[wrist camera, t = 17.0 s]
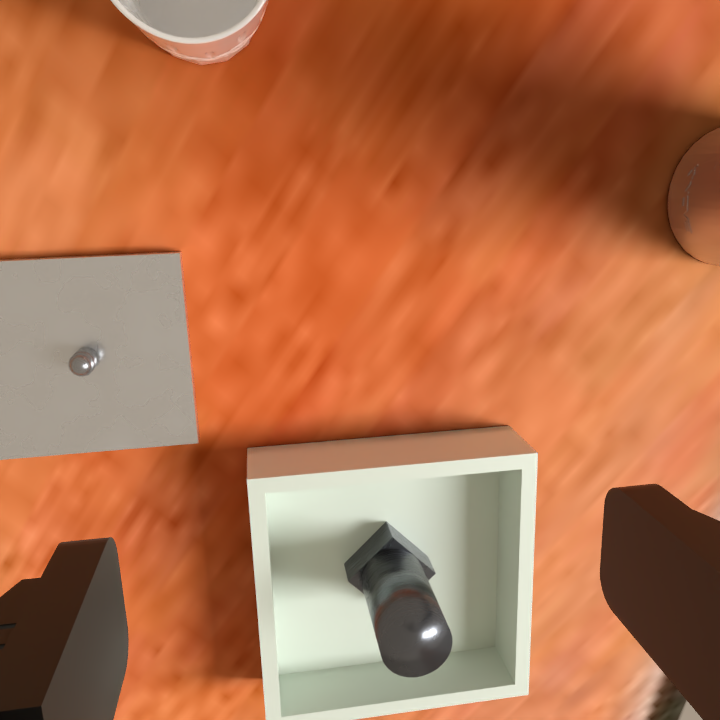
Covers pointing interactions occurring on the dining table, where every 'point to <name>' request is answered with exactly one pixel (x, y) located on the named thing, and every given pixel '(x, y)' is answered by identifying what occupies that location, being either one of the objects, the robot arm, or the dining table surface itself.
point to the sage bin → (421, 527)
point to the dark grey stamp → (401, 602)
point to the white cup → (196, 25)
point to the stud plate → (94, 355)
